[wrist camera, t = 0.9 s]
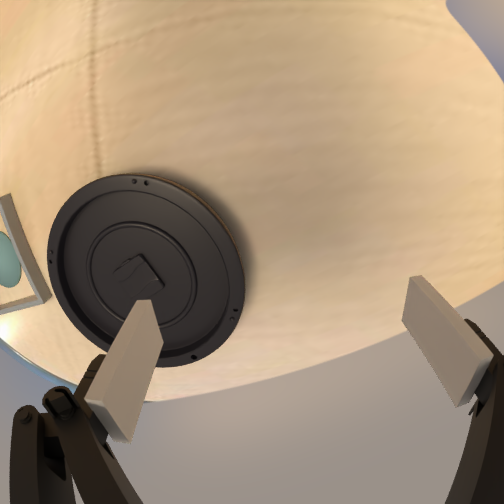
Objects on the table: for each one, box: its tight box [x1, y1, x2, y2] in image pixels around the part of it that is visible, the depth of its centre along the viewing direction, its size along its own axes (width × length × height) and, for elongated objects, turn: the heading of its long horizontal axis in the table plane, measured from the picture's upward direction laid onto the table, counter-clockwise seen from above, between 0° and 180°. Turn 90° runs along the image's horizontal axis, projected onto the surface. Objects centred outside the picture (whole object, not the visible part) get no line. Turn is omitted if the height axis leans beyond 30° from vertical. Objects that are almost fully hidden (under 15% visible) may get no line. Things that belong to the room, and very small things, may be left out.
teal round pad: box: [0, 231, 21, 288], centre depth 42 cm, size 12×12×1 cm
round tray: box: [47, 173, 245, 368], centre depth 41 cm, size 30×6×30 cm
